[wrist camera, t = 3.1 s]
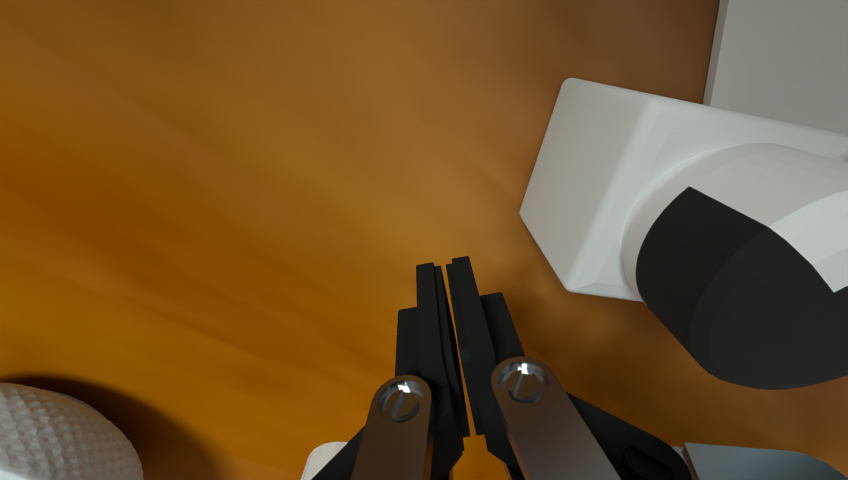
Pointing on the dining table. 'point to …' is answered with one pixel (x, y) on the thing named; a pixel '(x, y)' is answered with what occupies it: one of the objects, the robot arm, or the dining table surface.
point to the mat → (782, 61)
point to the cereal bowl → (60, 439)
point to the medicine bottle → (701, 227)
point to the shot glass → (321, 458)
